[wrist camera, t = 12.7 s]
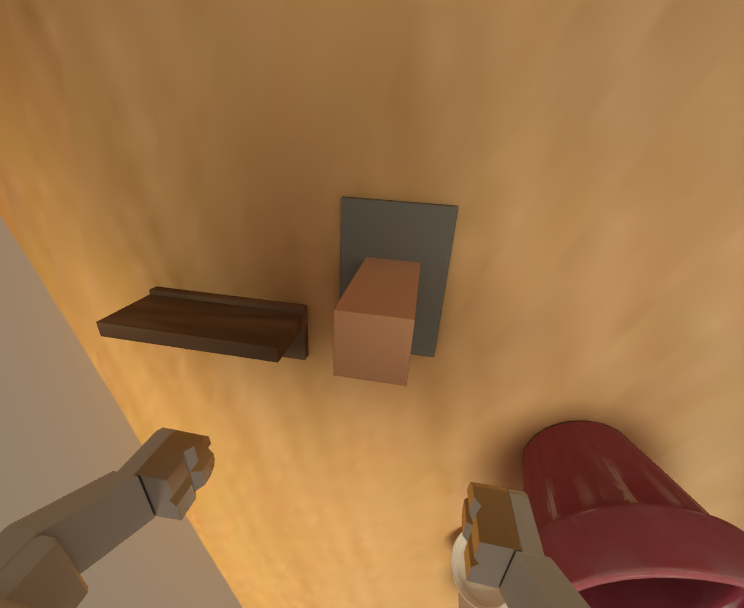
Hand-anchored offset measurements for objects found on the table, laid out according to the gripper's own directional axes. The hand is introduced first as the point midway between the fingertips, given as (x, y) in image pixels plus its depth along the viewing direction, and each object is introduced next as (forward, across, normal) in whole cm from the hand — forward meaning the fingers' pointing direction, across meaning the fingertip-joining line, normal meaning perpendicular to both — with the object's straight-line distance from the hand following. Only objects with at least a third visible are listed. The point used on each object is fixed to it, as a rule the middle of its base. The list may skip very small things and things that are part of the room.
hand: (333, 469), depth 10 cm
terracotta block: (+16, 0, +1) cm, 16 cm away
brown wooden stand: (+17, +14, +6) cm, 23 cm away
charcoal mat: (+17, 0, +1) cm, 17 cm away
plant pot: (+17, -18, +16) cm, 29 cm away
